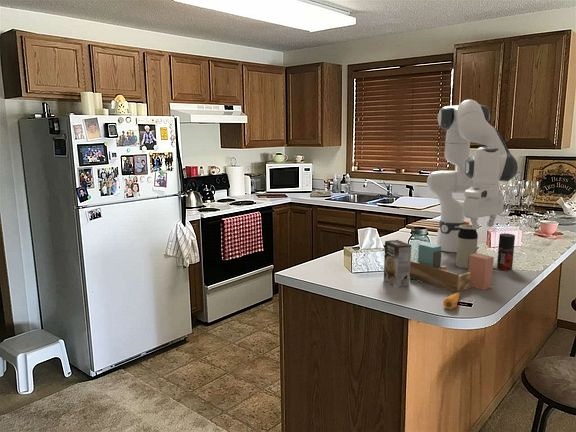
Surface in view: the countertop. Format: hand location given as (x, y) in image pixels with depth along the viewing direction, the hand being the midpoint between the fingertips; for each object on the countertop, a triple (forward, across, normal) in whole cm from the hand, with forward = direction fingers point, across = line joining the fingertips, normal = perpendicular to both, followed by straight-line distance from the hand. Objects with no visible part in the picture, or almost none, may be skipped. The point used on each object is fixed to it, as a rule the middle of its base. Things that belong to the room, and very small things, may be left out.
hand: (482, 227), depth 175 cm
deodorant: (+22, -28, -7) cm, 37 cm away
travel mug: (+23, -18, -18) cm, 34 cm away
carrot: (+24, +20, +4) cm, 31 cm away
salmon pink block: (+23, -1, 0) cm, 23 cm away
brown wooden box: (+23, +9, -12) cm, 27 cm away
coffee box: (+23, +22, -22) cm, 39 cm away
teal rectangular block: (+21, +8, -17) cm, 28 cm away
